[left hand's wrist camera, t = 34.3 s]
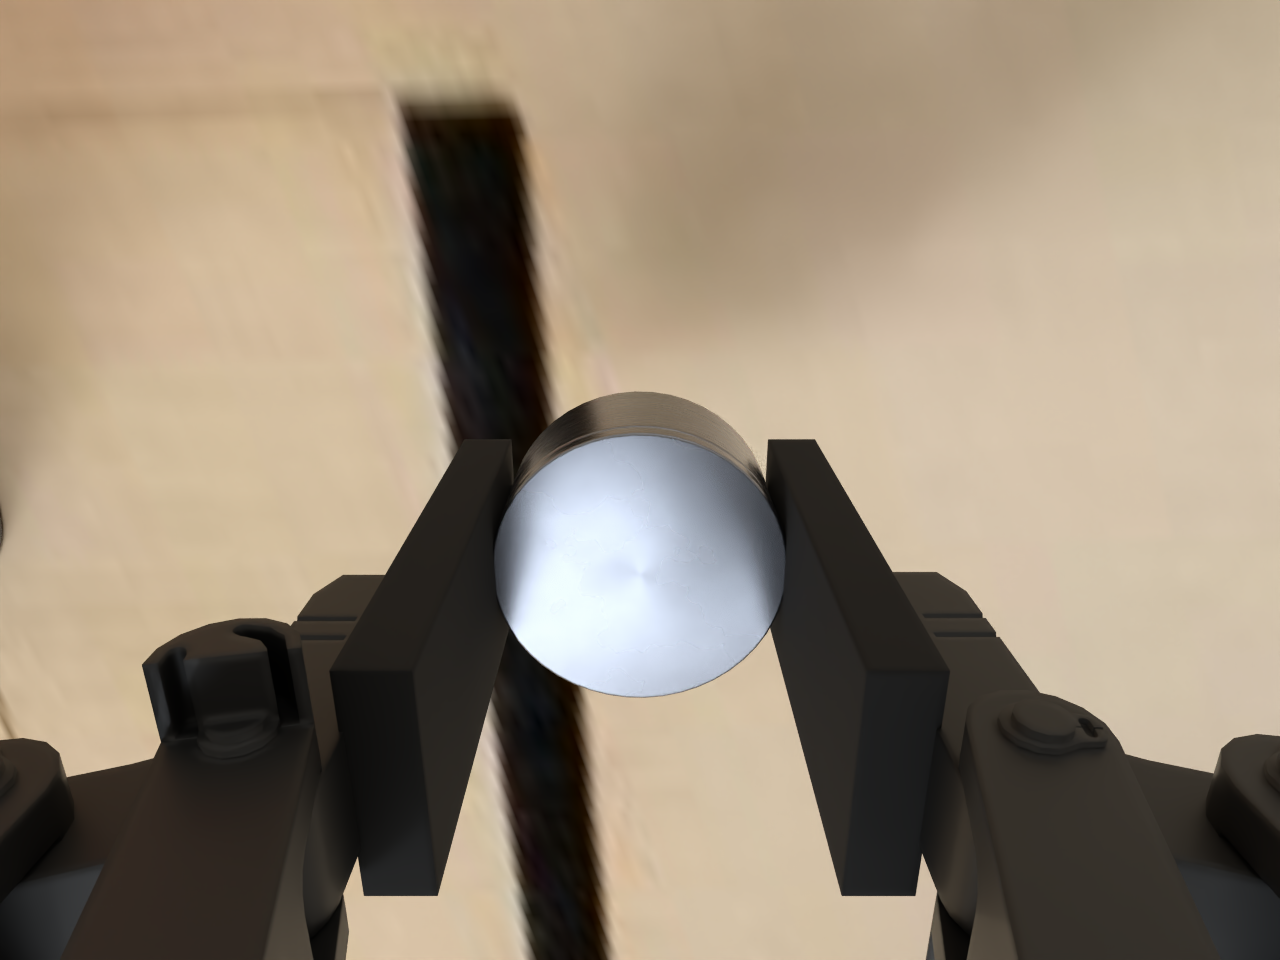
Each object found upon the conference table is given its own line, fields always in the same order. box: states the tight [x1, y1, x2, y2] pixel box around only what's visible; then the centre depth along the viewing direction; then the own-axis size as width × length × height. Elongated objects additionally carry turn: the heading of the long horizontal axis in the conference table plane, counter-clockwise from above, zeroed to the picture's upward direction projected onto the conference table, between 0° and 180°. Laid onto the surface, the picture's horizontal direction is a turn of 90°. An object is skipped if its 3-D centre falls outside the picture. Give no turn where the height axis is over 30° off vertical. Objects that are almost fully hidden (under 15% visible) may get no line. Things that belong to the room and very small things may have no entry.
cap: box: [493, 392, 786, 698], centre depth 13 cm, size 4×4×2 cm
